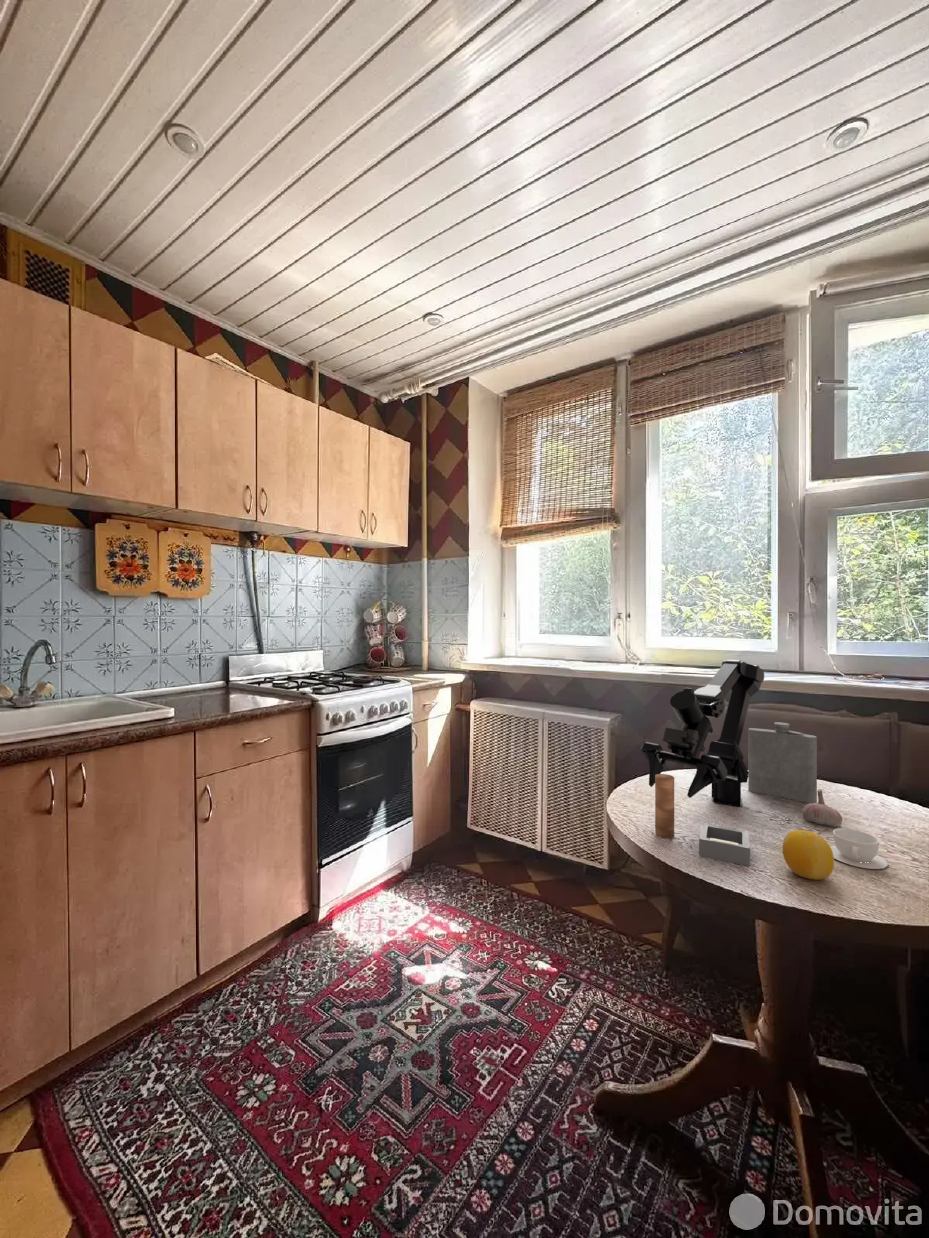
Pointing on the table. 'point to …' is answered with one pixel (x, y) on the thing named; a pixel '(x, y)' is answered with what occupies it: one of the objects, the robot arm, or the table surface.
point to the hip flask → (782, 763)
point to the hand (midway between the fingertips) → (668, 790)
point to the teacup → (857, 849)
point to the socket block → (724, 844)
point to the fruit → (808, 854)
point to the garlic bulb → (821, 812)
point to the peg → (664, 805)
